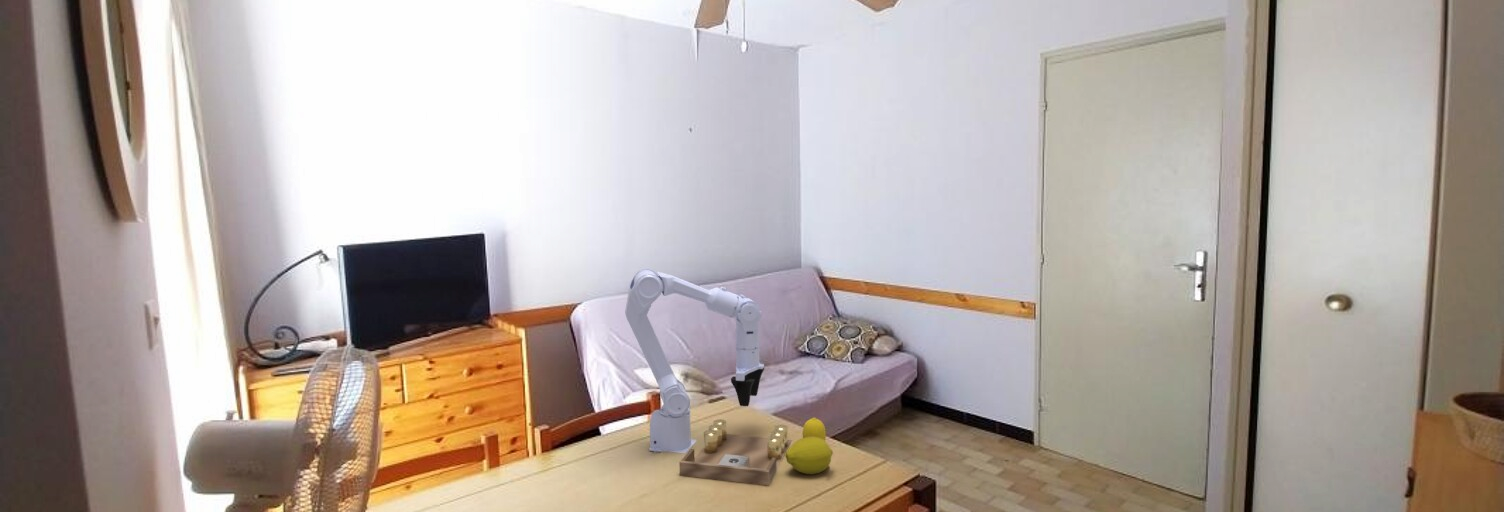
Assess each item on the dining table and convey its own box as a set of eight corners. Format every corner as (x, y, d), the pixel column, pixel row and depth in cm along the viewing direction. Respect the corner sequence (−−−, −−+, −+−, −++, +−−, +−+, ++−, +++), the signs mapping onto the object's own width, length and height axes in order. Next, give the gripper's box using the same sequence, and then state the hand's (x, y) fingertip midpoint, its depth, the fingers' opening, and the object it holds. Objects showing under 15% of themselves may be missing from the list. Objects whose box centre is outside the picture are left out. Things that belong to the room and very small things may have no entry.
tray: (679, 477, 136) (679, 462, 136) (715, 435, 159) (715, 421, 159) (768, 488, 131) (768, 471, 130) (792, 442, 154) (792, 428, 153)
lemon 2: (828, 463, 142) (828, 429, 141) (838, 478, 134) (838, 443, 134) (781, 467, 141) (781, 432, 140) (788, 483, 133) (788, 447, 132)
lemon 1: (825, 445, 152) (825, 413, 151) (826, 455, 146) (825, 422, 145) (802, 444, 152) (802, 413, 151) (802, 454, 147) (802, 421, 146)
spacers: (702, 453, 147) (701, 434, 147) (716, 436, 157) (715, 418, 156) (779, 461, 142) (779, 442, 142) (789, 443, 152) (788, 425, 151)
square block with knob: (717, 475, 136) (717, 464, 135) (725, 464, 141) (725, 454, 141) (742, 478, 134) (742, 467, 134) (749, 466, 139) (749, 456, 139)
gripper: (755, 355, 146) (756, 411, 148) (770, 340, 160) (771, 392, 161) (726, 354, 148) (728, 409, 149) (743, 339, 162) (744, 390, 163)
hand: (748, 400), depth 156 cm, fingers open, 7 cm apart
